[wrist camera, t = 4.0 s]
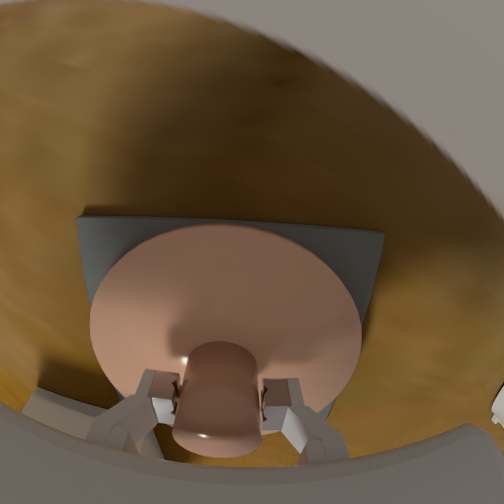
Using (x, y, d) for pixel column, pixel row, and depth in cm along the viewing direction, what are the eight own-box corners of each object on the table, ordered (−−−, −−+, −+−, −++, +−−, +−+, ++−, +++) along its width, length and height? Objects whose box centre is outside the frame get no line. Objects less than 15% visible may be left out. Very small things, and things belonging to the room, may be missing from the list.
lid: (385, 234, 11) (455, 286, 6) (322, 425, 15) (337, 485, 11) (76, 217, 10) (2, 259, 6) (125, 414, 15) (106, 471, 10)
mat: (381, 231, 11) (385, 234, 11) (321, 421, 16) (323, 425, 15) (80, 215, 10) (76, 217, 10) (127, 410, 15) (125, 414, 15)
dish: (149, 418, 15) (133, 478, 11) (170, 472, 19) (163, 515, 14) (37, 386, 15) (11, 429, 10) (78, 448, 18) (65, 484, 14)
